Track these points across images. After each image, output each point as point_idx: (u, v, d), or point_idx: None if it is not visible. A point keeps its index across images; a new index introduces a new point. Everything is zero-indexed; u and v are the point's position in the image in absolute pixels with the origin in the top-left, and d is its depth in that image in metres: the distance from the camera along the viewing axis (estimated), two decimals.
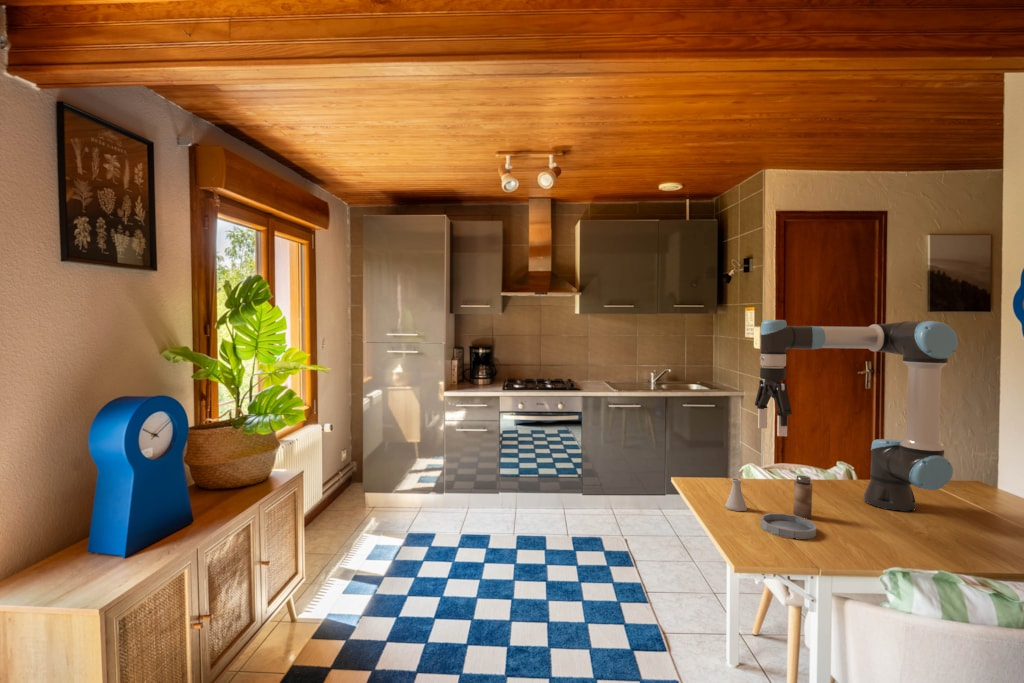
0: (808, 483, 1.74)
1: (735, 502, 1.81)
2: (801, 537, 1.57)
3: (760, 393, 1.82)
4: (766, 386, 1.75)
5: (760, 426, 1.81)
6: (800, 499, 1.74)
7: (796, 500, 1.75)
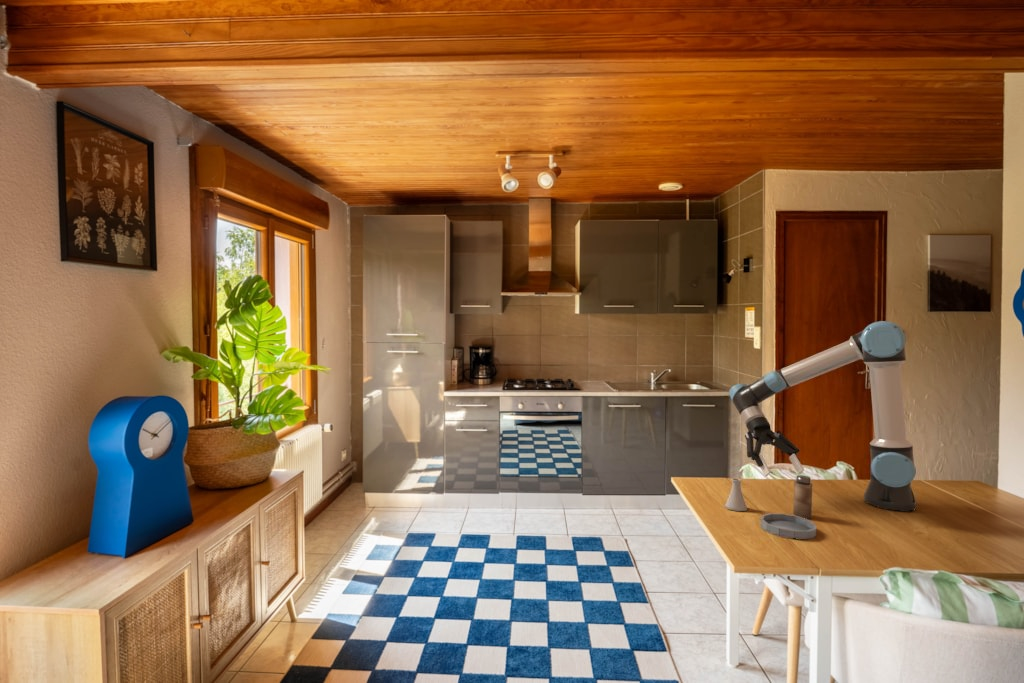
0: (808, 483, 1.74)
1: (735, 502, 1.81)
2: (801, 537, 1.57)
3: None
4: None
5: (797, 471, 1.85)
6: (800, 499, 1.74)
7: (796, 500, 1.75)
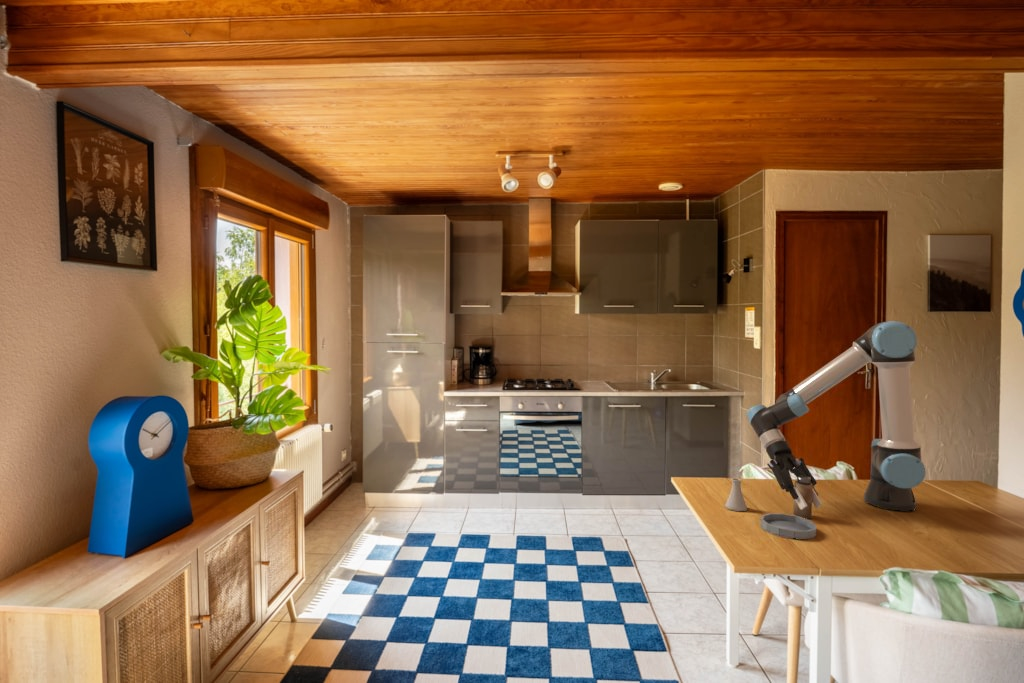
0: (808, 483, 1.74)
1: (735, 502, 1.81)
2: (801, 537, 1.57)
3: None
4: None
5: (815, 505, 1.74)
6: None
7: None
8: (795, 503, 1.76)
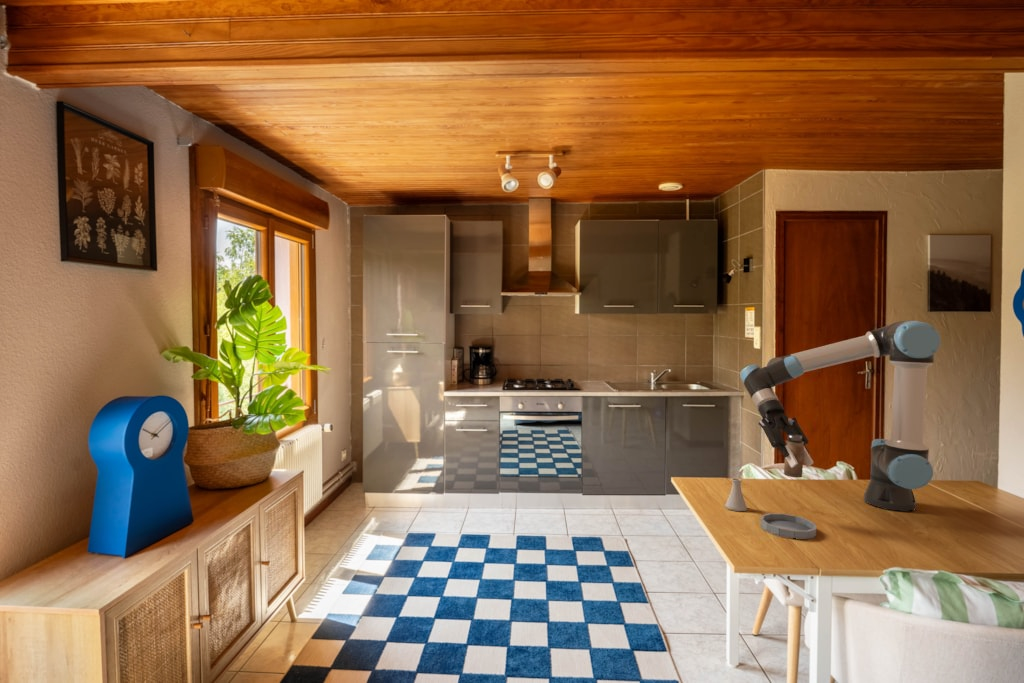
0: (799, 441, 1.70)
1: (735, 502, 1.81)
2: (801, 537, 1.57)
3: None
4: None
5: (806, 464, 1.71)
6: None
7: None
8: (786, 461, 1.72)
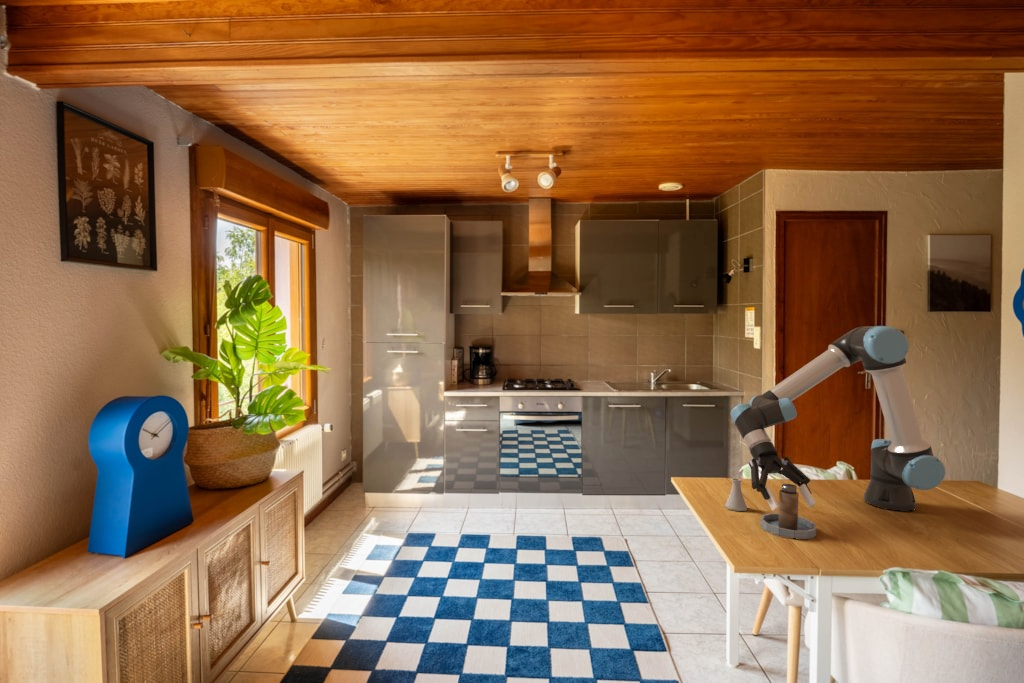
0: (794, 492, 1.62)
1: (735, 502, 1.81)
2: (801, 537, 1.57)
3: None
4: None
5: (808, 504, 1.64)
6: (785, 509, 1.62)
7: (781, 510, 1.63)
8: (780, 513, 1.64)
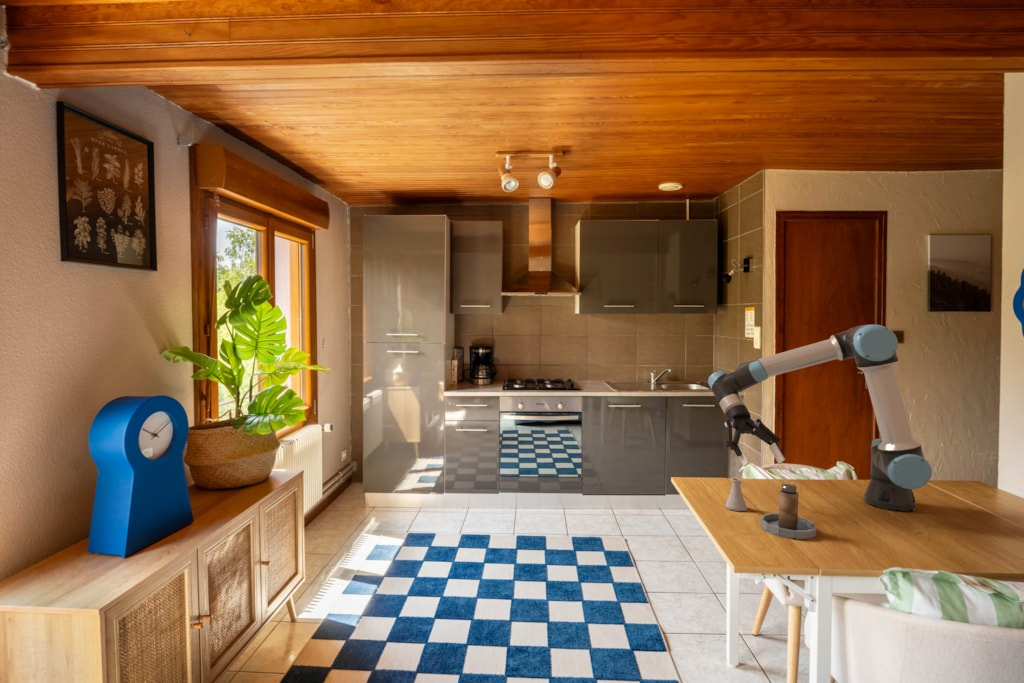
0: (794, 492, 1.62)
1: (735, 502, 1.81)
2: (801, 537, 1.57)
3: None
4: None
5: (778, 461, 1.77)
6: (785, 510, 1.62)
7: (781, 510, 1.63)
8: (780, 514, 1.64)
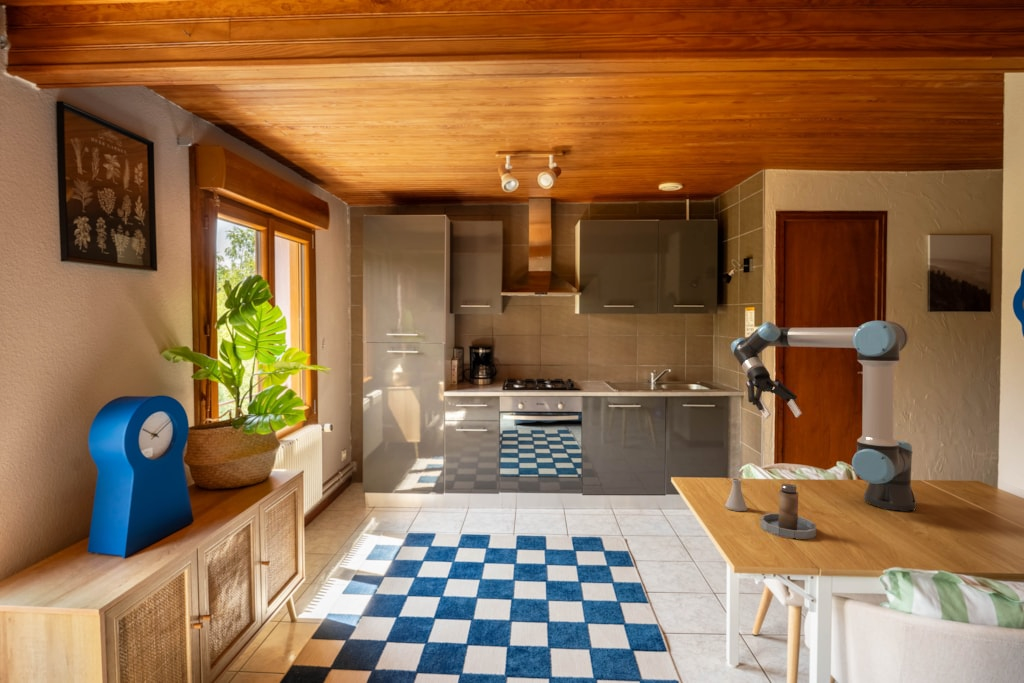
0: (794, 492, 1.62)
1: (735, 502, 1.81)
2: (801, 537, 1.57)
3: None
4: None
5: (795, 415, 1.99)
6: (785, 510, 1.62)
7: (781, 510, 1.63)
8: (780, 514, 1.64)
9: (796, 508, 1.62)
